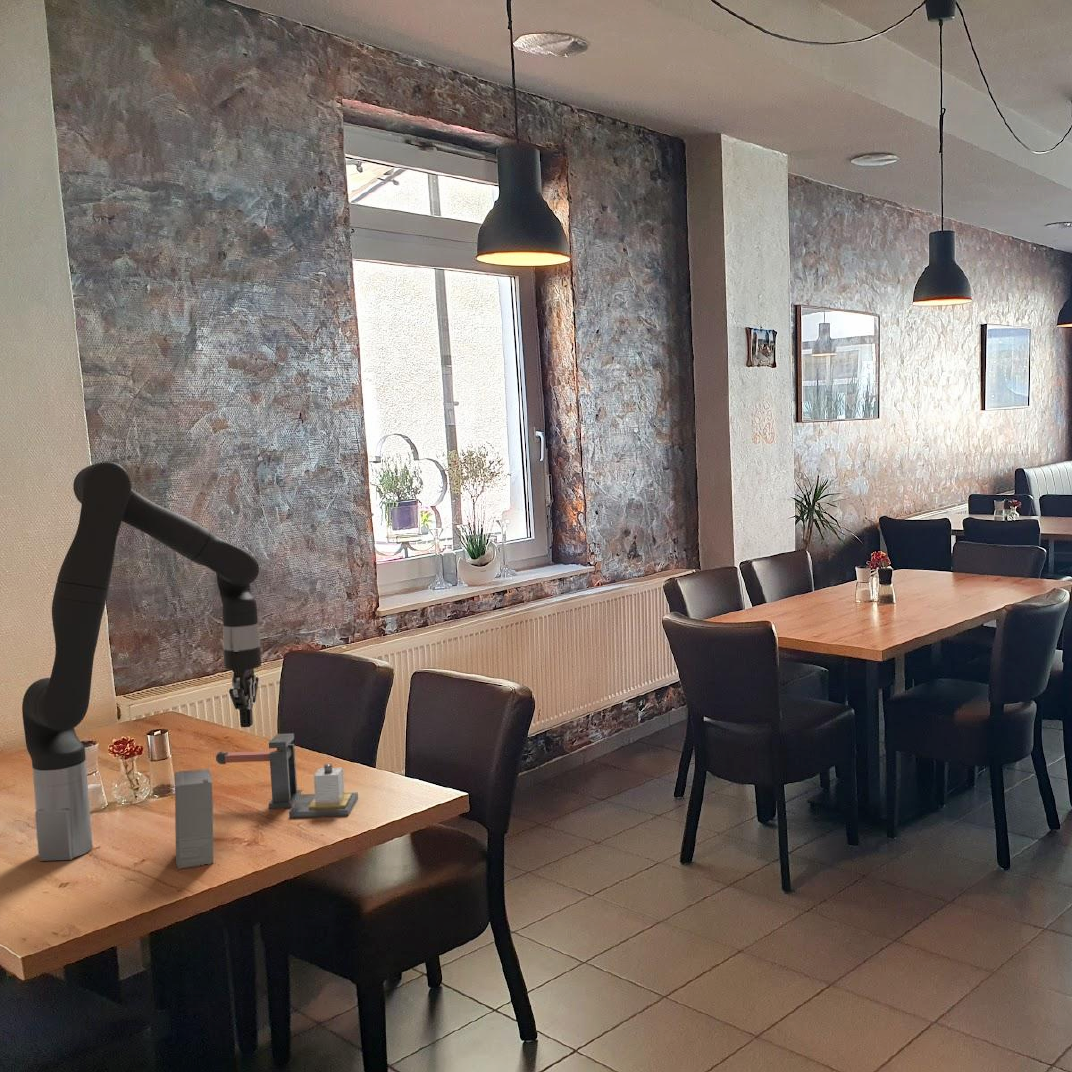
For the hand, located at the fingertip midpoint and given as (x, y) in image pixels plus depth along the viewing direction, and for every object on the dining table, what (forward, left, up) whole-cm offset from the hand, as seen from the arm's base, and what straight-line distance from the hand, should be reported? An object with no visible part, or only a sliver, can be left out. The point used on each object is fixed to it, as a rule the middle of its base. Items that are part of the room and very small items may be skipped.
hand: (246, 726), depth 221 cm
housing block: (-5, -18, -15) cm, 24 cm away
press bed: (-3, -14, -17) cm, 22 cm away
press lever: (+1, -1, -8) cm, 8 cm away
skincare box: (-30, +1, -17) cm, 35 cm away
